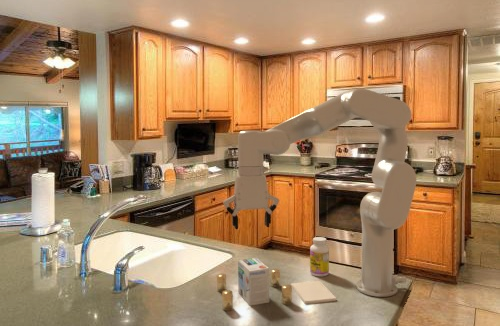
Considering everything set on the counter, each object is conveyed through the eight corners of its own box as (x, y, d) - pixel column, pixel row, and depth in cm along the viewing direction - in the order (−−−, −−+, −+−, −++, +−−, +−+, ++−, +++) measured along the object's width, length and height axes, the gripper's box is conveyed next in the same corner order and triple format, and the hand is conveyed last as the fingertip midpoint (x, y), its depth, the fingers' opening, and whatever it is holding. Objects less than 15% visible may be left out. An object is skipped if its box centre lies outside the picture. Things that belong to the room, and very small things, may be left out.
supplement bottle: (306, 273, 146) (306, 238, 144) (319, 269, 149) (319, 235, 148) (319, 278, 140) (319, 242, 139) (332, 274, 144) (333, 239, 143)
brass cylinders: (276, 280, 139) (276, 266, 139) (293, 304, 121) (293, 288, 120) (215, 285, 135) (215, 271, 135) (223, 311, 117) (222, 294, 116)
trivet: (319, 282, 136) (319, 280, 136) (336, 300, 123) (336, 298, 123) (291, 285, 135) (291, 283, 134) (304, 303, 121) (304, 301, 121)
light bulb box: (237, 292, 130) (237, 259, 129) (257, 289, 132) (256, 257, 131) (249, 306, 120) (248, 271, 119) (270, 302, 122) (270, 268, 121)
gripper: (275, 169, 127) (275, 222, 129) (220, 171, 124) (222, 225, 126) (282, 171, 120) (282, 228, 122) (224, 174, 117) (225, 232, 118)
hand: (251, 227), depth 124 cm, fingers open, 9 cm apart
